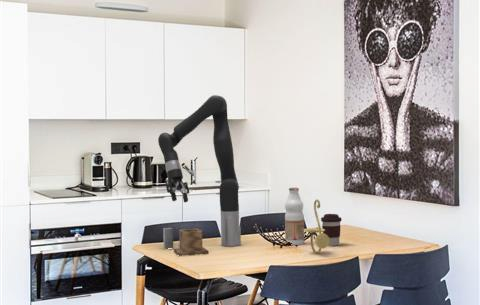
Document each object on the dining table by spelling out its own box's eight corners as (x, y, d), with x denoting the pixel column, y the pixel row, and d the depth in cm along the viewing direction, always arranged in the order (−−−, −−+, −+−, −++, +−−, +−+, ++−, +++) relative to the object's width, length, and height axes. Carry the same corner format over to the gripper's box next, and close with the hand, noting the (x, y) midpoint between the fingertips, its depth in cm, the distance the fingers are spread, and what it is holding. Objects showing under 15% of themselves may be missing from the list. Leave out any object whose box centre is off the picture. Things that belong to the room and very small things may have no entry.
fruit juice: (284, 245, 300) (283, 188, 299) (286, 242, 309) (285, 187, 309) (303, 245, 298) (302, 188, 298) (305, 242, 307) (304, 187, 307)
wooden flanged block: (202, 249, 292) (202, 227, 292) (208, 253, 280) (208, 231, 280) (173, 251, 288) (173, 229, 288) (178, 256, 276) (178, 233, 276)
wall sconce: (332, 255, 270) (331, 199, 270) (312, 257, 268) (311, 200, 267) (320, 250, 284) (319, 197, 283) (301, 251, 281) (300, 198, 281)
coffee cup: (344, 243, 300) (343, 213, 300) (338, 247, 291) (338, 216, 291) (324, 242, 304) (324, 213, 304) (318, 246, 295) (318, 215, 295)
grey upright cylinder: (171, 247, 299) (171, 227, 298) (173, 249, 295) (172, 228, 295) (163, 248, 298) (163, 228, 297) (165, 249, 294) (164, 229, 294)
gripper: (169, 166, 295) (176, 197, 290) (188, 169, 307) (195, 199, 302) (158, 172, 299) (165, 203, 294) (177, 174, 311) (184, 204, 306)
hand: (180, 201), depth 298 cm, fingers open, 8 cm apart
